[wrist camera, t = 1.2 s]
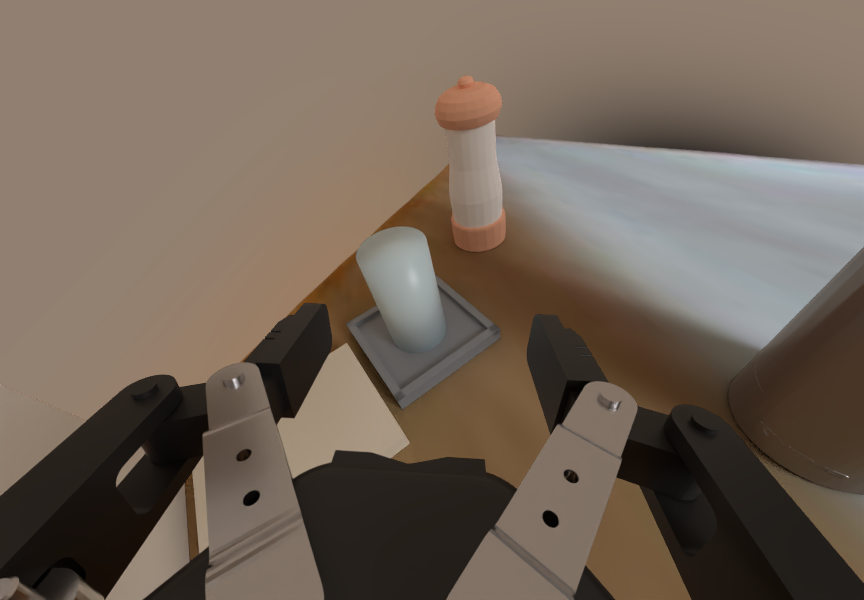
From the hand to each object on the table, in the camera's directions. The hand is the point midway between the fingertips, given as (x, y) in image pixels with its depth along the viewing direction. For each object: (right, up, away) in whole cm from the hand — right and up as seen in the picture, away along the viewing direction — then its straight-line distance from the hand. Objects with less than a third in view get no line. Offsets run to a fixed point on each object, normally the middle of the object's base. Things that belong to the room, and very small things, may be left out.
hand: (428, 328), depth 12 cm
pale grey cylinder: (-1, -2, +22) cm, 22 cm away
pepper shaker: (+7, +10, +33) cm, 35 cm away
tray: (-1, -3, +22) cm, 23 cm away
